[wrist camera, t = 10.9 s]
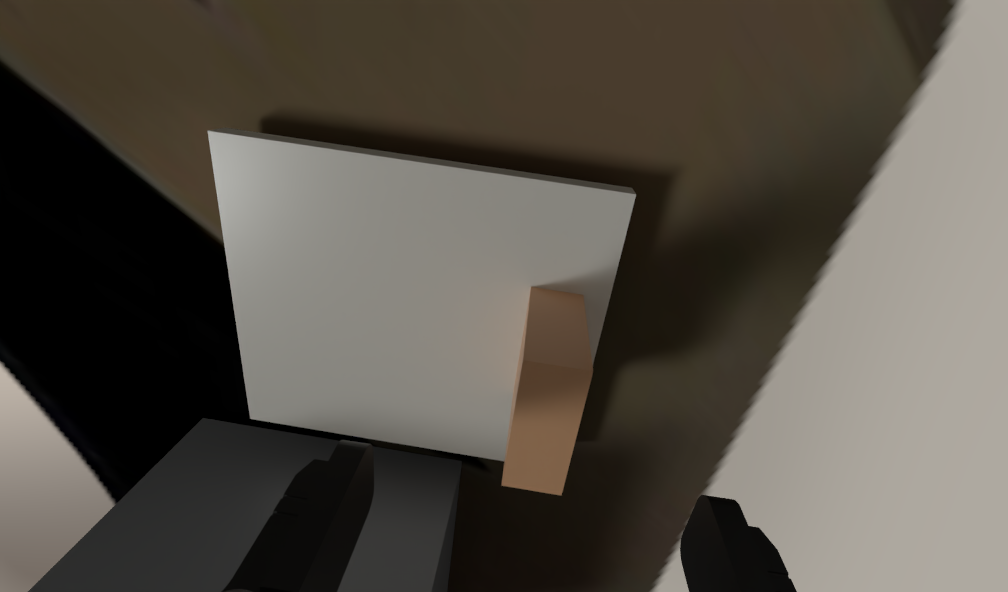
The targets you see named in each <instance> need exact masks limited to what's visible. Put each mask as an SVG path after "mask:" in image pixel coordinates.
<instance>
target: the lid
mask: <svg viewBox="0 0 1008 592" xmlns="http://www.w3.org/2000/svg"><path fill="white" fill-rule="evenodd" d="M208 137H209V144H210V151H211V157H212V164H213V171H214V178H215V184H216V191H217V198H218V205H219V211H220V218H221V225H222V232H223V238H224V245H225V252H226V259H227V265H228V272H229V279H230V286H231V292H232V299H233V306H234V313H235V319H236V326H237V333H238V340H239V346H240V353H241V360H242V367H243V373H244V380H245V387H246V394H247V400H248V407H249V414H250V419H254V420H260V421H266V422H272V423H278V424H284V425H290V426H296V427H302V428H308V429H314V430H320V431H326V432H332V433H338V434H344V435H350V436H356V437H362V438H368V439H374V440H380V441H386V442H392V443H398V444H404V445H410V446H416V447H421V448H427V449H433V450H439V451H445V452H451V453H457V454H463V455H469V456H475V457H481V458H487V459H493V460H499V461H504V469H503V477H502V485H501V486H507V487H513V488H519V489H525V490H531V491H537V492H543V493H549V494H555V495H560V496H562V492H563V488H564V484H565V480H566V476H567V472H568V468H569V464H570V460H571V457H572V453H573V449H574V445H575V441H576V437H577V433H578V429H579V425H580V421H581V418H582V414H583V410H584V406H585V402H586V398H587V394H588V390H589V386H590V382H591V379H592V375H593V363H594V359H595V355H596V351H597V347H598V343H599V339H600V335H601V331H602V327H603V324H604V320H605V316H606V312H607V308H608V304H609V300H610V296H611V292H612V288H613V284H614V280H615V276H616V272H617V268H618V264H619V261H620V257H621V253H622V249H623V245H624V241H625V237H626V233H627V229H628V225H629V221H630V217H631V213H632V209H633V205H634V201H635V198H636V193H635V192H634V190H633V189H632V188H630V187H624V186H617V185H610V184H603V183H597V182H590V181H583V180H576V179H569V178H563V177H556V176H549V175H542V174H536V173H529V172H522V171H515V170H509V169H502V168H495V167H488V166H482V165H475V164H468V163H461V162H455V161H448V160H441V159H434V158H428V157H421V156H414V155H407V154H401V153H394V152H387V151H380V150H373V149H367V148H360V147H353V146H346V145H340V144H333V143H326V142H319V141H313V140H306V139H299V138H292V137H286V136H279V135H272V134H265V133H259V132H252V131H245V130H238V129H232V128H221V129H215V130H209V131H208Z"/></svg>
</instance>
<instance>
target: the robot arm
mask: <svg viewBox="0 0 1008 592" xmlns="http://www.w3.org/2000/svg"><path fill="white" fill-rule="evenodd" d="M373 494H374V457H373V446H372V444H367V443H361V442H354V441H347V440H341V441H340V442H339V443H338V444H337V446H336V448H335V450H334V451H333V453H332V455H331V457H330V459H329V461H325V460H318V459H314V460H313V461H311V462H310V463H309V464H308V465H307V466H305V467H304V468H303V469H302V470H301V471H299V472H298V473H297V474H296V475H295V476H294V478H293V480H292V481H291V483H290V485H289V486H288V488H287V489H286V491H285V493H284V494H283V498H282V499H280V501H279V503H278V504H277V506H276V507H275V509H274V511H273V514H272V515H271V516H270V517H269V519H268V520H267V522H266V524H265V525H264V527H263V529H262V530H261V532H260V534H259V535H258V537H257V538H256V540H255V542H254V543H253V545H252V547H251V548H250V550H249V551H248V553H247V555H246V556H245V558H244V560H243V561H242V563H241V565H240V566H239V568H238V569H237V571H236V573H235V574H234V576H233V578H232V579H231V580H230V582H229V583H228V585H227V586H226V587H225V588H224V589H223V590H222V591H221V592H337V591H338V588H339V586H340V583H341V581H342V578H343V576H344V573H345V571H346V568H347V566H348V563H349V561H350V558H351V556H352V553H353V551H354V548H355V546H356V543H357V541H358V538H359V536H360V533H361V531H362V528H363V526H364V523H365V521H366V518H367V516H368V513H369V510H370V507H371V504H372V499H373ZM680 551H681V561H682V565H683V569H684V573H685V577H686V581H687V584H688V588H689V592H797V591H796V589H795V587H794V585H793V583H792V581H791V579H789V578H788V572H787V570H786V568H785V565H784V563H783V561H782V559H781V557H780V555H779V552H778V550H777V549H776V548H775V546H774V545H773V544H772V543H771V542H770V541H769V539H768V538H767V537H766V536H765V534H764V533H763V532H762V531H761V530H760V529H759V528H757V527H751V526H748V524H747V522H746V519H745V517H744V515H743V512H742V510H741V508H740V506H739V504H738V503H737V502H736V501H735V500H732V499H726V498H719V497H712V496H706V495H701V496H700V497H699V498H698V500H697V502H696V505H695V507H694V509H693V511H692V514H691V516H690V518H689V521H688V523H687V525H686V527H685V530H684V532H683V535H682V538H681V547H680Z"/></svg>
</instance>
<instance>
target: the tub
mask: <svg viewBox="0 0 1008 592" xmlns="http://www.w3.org/2000/svg"><path fill="white" fill-rule="evenodd" d="M339 442H340V441H338V440H332V439H326V438H320V437H314V436H308V435H302V434H295V433H289V432H283V431H277V430H271V429H265V428H259V427H253V426H247V425H241V424H235V423H229V422H223V421H217V420H211V419H205V418H203V419H202V420H201V421H200V422H199V423H198V424H197V425H196V426H195V427H194V428H193V429H192V430H191V431H190V432H189V433H188V434H187V435H186V436H185V437H184V438H183V439H182V440H181V441H180V442H179V443H178V444H176V445H175V446H174V447H173V448H172V449H171V450H170V451H169V452H168V453H167V454H166V455H165V456H164V457H163V458H162V459H161V460H160V461H159V462H158V463H157V464H156V465H155V466H154V467H153V468H152V469H151V470H150V471H149V472H148V473H147V474H146V475H145V476H144V477H143V478H142V479H141V480H140V481H139V482H138V483H137V484H136V485H135V486H134V487H133V488H132V489H131V490H130V491H129V492H128V493H127V494H126V495H125V496H124V497H123V498H122V499H121V500H120V501H119V502H118V503H117V504H116V505H115V506H114V507H113V508H112V509H111V510H110V511H109V512H108V513H107V514H106V515H105V516H104V517H103V518H102V519H101V520H100V521H99V522H98V523H97V524H96V525H95V526H94V527H93V528H92V529H91V530H90V531H89V532H88V533H87V534H86V535H85V536H84V537H83V538H82V539H81V540H80V541H79V542H78V543H77V544H76V545H75V546H74V547H73V548H72V549H71V550H70V551H69V552H68V553H67V554H66V555H65V556H64V557H63V558H62V559H61V560H60V561H59V562H58V563H57V564H56V565H54V566H53V568H51V569H50V571H48V572H47V573H46V575H44V576H43V578H41V580H40V581H38V582H37V583H36V584H35V585H34V586H33V587H32V588H31V589H30V590H29V591H28V592H221V591H222V590H223V589H224V588H225V587H226V586H227V585H228V583H229V582H230V580H231V579H232V578H233V576H234V574H235V573H236V571H237V569H238V568H239V566H240V565H241V563H242V561H243V560H244V558H245V556H246V555H247V553H248V551H249V550H250V548H251V547H252V545H253V543H254V542H255V540H256V538H257V537H258V535H259V534H260V532H261V530H262V529H263V527H264V525H265V524H266V522H267V520H268V519H269V517H270V516H271V515H272V514H273V511H274V509H275V507H276V506H277V504H278V503H279V501H280V499H282V498H283V494H284V493H285V491H286V489H287V488H288V486H289V485H290V483H291V481H292V480H293V478H294V476H295V475H296V474H297V473H298V472H299V471H301V470H302V469H303V468H304V467H305V466H307V465H308V464H309V463H310V462H311V461H313V460H314V459H318V460H325V461H329V459H330V457H331V455H332V453H333V451H334V450H335V448H336V446H337V444H338V443H339ZM373 457H374V494H373V499H372V504H371V507H370V510H369V513H368V516H367V518H366V521H365V523H364V526H363V528H362V531H361V533H360V536H359V538H358V541H357V543H356V546H355V548H354V551H353V553H352V556H351V558H350V561H349V563H348V566H347V568H346V571H345V573H344V576H343V578H342V581H341V583H340V586H339V588H338V591H337V592H447V590H448V581H449V572H450V564H451V555H452V546H453V537H454V528H455V519H456V510H457V502H458V493H459V484H460V475H461V466H462V461H458V460H452V459H446V458H440V457H434V456H428V455H422V454H416V453H410V452H404V451H398V450H392V449H386V448H380V447H374V446H373Z"/></svg>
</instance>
